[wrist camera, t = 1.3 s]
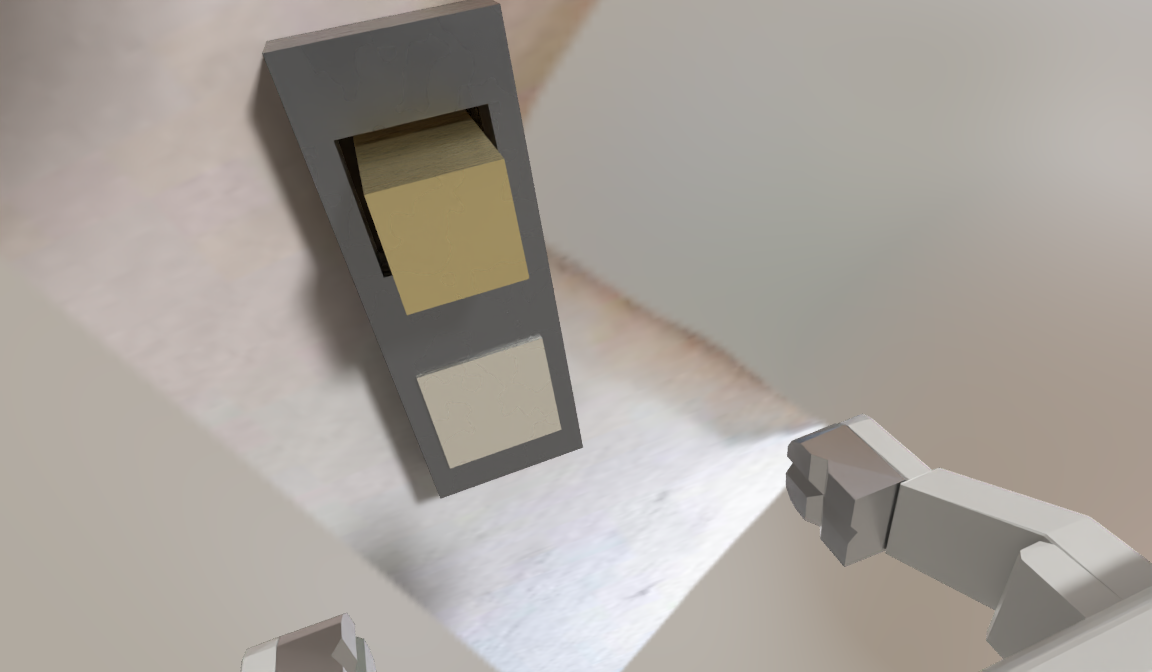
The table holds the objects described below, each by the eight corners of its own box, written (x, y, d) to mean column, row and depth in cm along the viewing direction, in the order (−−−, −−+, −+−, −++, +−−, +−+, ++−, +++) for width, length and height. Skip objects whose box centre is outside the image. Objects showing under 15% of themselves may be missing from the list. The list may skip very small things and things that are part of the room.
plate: (266, 41, 22) (261, 54, 20) (484, -4, 24) (501, 4, 22) (433, 466, 35) (441, 501, 33) (568, 419, 37) (584, 449, 35)
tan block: (352, 133, 25) (364, 195, 20) (463, 107, 26) (504, 158, 20) (387, 235, 28) (406, 315, 22) (487, 208, 29) (529, 278, 23)
